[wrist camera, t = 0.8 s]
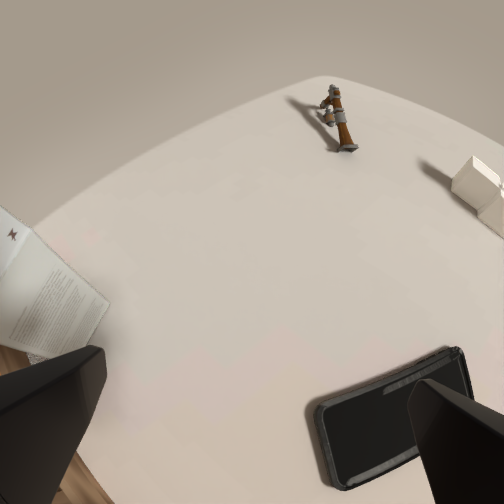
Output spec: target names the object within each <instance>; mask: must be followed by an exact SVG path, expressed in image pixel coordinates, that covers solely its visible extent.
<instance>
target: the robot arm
mask: <svg viewBox="0 0 504 504" xmlns="http://www.w3.org/2000/svg"><path fill="white" fill-rule="evenodd" d="M106 378H107V368H106V359H105V352H104V350H103V348H101V347H97V346H93V345H88V346H85V347H82V348H80V349H77V350H74V351H71V352H68V353H66V354H63V355H60V356H57V357H54V358H51V359H49V360H46V361H43V362H40V363H37V364H34V365H31V366H28V367H25V368H22V369H19V370H16V371H13V372H10V373H7V374H4V375H1V376H0V504H52V501H53V499H54V497H55V495H56V492H57V490H58V488H59V486H60V484H61V481H62V479H63V477H64V475H65V473H66V471H67V469H68V466H69V464H70V462H71V460H72V458H73V456H74V454H75V452H76V450H77V448H78V446H79V444H80V442H81V440H82V438H83V436H84V434H85V432H86V430H87V428H88V426H89V424H90V421H91V419H92V416H93V414H94V411H95V408H96V405H97V403H98V400H99V397H100V395H101V392H102V389H103V387H104V384H105V382H106ZM407 408H408V412H409V416H410V420H411V424H412V428H413V432H414V436H415V441H416V444H417V448H418V451H419V454H420V457H421V460H422V463H423V466H424V469H425V472H426V475H427V478H428V481H429V484H430V487H431V491H432V494H433V497H434V500H435V504H504V415H502V414H500V413H498V412H496V411H494V410H492V409H490V408H488V407H486V406H484V405H482V404H480V403H478V402H476V401H474V400H472V399H470V398H467V397H465V396H463V395H461V394H459V393H457V392H455V391H453V390H451V389H449V388H447V387H445V386H444V385H442V384H440V383H438V382H436V381H434V380H432V379H421V380H419V381H418V382H417V383H416V385H415V387H414V389H413V391H412V393H411V395H410V398H409V400H408V403H407Z"/></svg>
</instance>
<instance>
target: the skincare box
mask: <svg viewBox="0 0 504 504" xmlns="http://www.w3.org/2000/svg"><path fill="white" fill-rule="evenodd" d="M109 305H110V302H109V301H108V300H107V299H106V298H105V297H104V296H103V295H101V294H100V293H99V292H98V291H97V290H96V289H94V288H93V287H92V286H91V285H90V284H89V283H88V282H87V281H86V280H85V279H83V278H82V277H81V276H80V275H79V274H78V273H77V272H76V271H75V270H74V269H72V268H71V267H70V266H69V265H68V264H67V263H66V262H65V261H64V260H63V259H62V258H61V257H60V256H59V255H58V254H57V253H56V252H55V251H54V250H53V249H51V248H50V247H49V246H48V245H47V244H46V243H45V242H44V241H43V240H42V238H41V237H40V236H39V235H38V234H37V233H36V232H35V231H34V230H33V228H31V227H30V226H28V225H27V224H25V223H24V222H23V221H21V220H20V219H18V218H17V217H16V216H14V215H13V214H11V213H10V212H9V211H7V210H6V209H4V207H2V206H1V205H0V344H1V345H4V346H7V347H10V348H13V349H16V350H20V351H23V352H26V353H30V354H33V355H37V356H41V357H44V358H48V359H51V358H54V357H57V356H60V355H63V354H66V353H68V352H71V351H74V350H77V349H80V348H82V347H85V346H86V344H87V343H88V341H89V339H90V337H91V335H92V334H93V332H94V330H95V328H96V326H97V325H98V323H99V321H100V320H101V318H102V316H103V314H104V313H105V311H106V309H107V308H108V306H109Z"/></svg>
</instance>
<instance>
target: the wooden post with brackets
mask: <svg viewBox="0 0 504 504" xmlns="http://www.w3.org/2000/svg"><path fill="white" fill-rule="evenodd" d="M329 88H330V89H329V90H328V92H329V96H328V97H327V98H326V99H325V100H323V101H322V102H321V104H320V108H321V109H325V108H326V110H325V112H326V113H325V114H324V115H323V117H325V119H326V124H329V126H330V127H333V126H334V122H336V125H337V127H338V131H339V139H340V148H339V149H337V151H338V152H339V151H351V152H353V151H355V150H356V149H358V148H359V147H358V144H356V145H354V143H353V141H352V139H351V137H350V134H349V132H348V129H347V126H346V122H347V121H346V118H345V112H343V111H344V108H342V106H341V102H340V98H341V96H340V91H339V88H336V86H335V85H333V84H332V85H330V87H329ZM329 105H333V109H334V110H333V111H332V112H330V110H331V109H328V108H329V107H328V106H329ZM333 114H335V115H334V116H333ZM334 118H335V119H334Z"/></svg>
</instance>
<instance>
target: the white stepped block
mask: <svg viewBox="0 0 504 504" xmlns="http://www.w3.org/2000/svg"><path fill="white" fill-rule="evenodd" d="M451 191H452V192H453V193H454V194H456V195H457V196H459V197H460V198H461V199H463V200H464V201H465V202H467V203H468V204H469V205H471V206H472V207H473V208H474V209H476V210H477V218H479V219H480V220H481V221H482V222H484V223H485V224H486V225H487V226H489V227H490V228H491V229H492V230H494V231H495V232H496V233H497V234H498V235H500V236H501V237H502V238H503V239H504V184H503V183H502V184H501V183H500V177H499V176H498V175H497V174H496V173H495V172H493V171H492V170H491V169H490V168H489V167H487V166H486V165H485V164H484V163H482V162H481V161H480V160H479V159H477V158H476V157H475V156H472V157H471V158H470V159H469V160H468V161H467V163H466V164H465V165H464V166H463V167H462V168H461V170H460V171H459V172H458V173H457V174H456V175H455V176H454V178H453V179H452V186H451Z"/></svg>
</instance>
